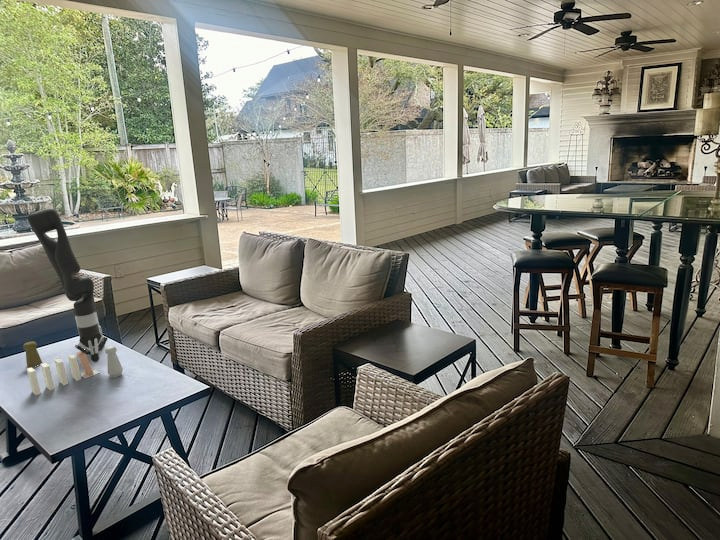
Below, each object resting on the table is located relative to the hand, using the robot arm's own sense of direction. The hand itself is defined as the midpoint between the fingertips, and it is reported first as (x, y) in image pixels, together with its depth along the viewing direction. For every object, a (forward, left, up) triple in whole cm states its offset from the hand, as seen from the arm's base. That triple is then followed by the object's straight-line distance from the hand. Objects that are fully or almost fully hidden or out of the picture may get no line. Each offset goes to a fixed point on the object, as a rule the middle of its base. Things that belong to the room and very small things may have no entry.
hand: (95, 361), depth 213 cm
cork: (+16, -33, -5) cm, 37 cm away
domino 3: (+13, 0, -5) cm, 14 cm away
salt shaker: (-3, +12, -5) cm, 13 cm away
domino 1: (+23, 0, -5) cm, 24 cm away
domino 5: (+3, 0, -4) cm, 5 cm away
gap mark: (+3, 0, -5) cm, 6 cm away
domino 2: (+18, 0, -5) cm, 19 cm away
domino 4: (+8, 0, -5) cm, 9 cm away
